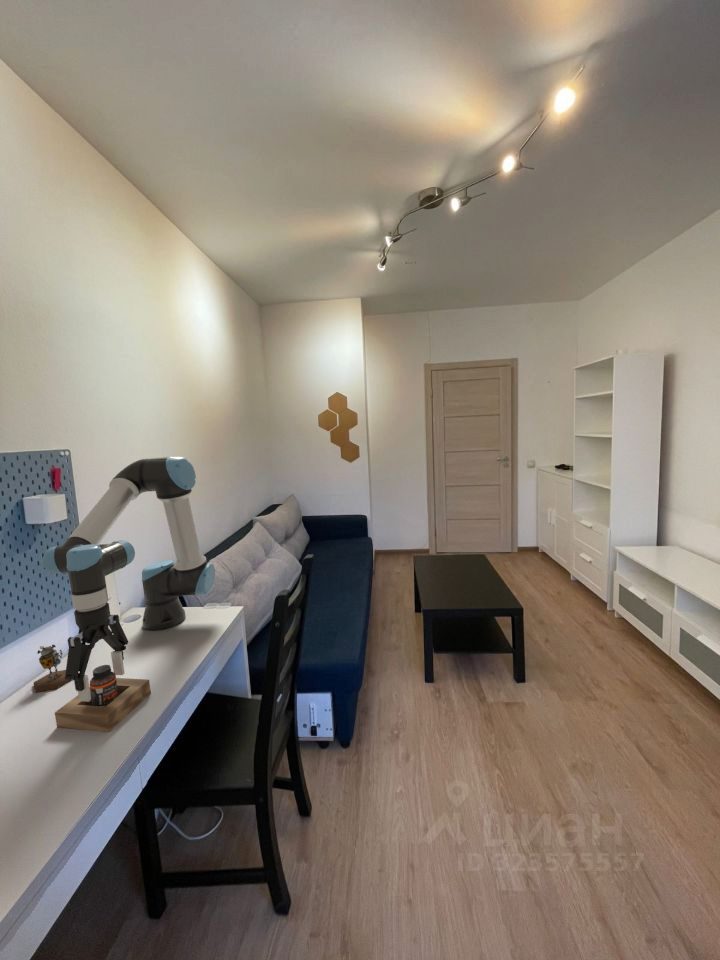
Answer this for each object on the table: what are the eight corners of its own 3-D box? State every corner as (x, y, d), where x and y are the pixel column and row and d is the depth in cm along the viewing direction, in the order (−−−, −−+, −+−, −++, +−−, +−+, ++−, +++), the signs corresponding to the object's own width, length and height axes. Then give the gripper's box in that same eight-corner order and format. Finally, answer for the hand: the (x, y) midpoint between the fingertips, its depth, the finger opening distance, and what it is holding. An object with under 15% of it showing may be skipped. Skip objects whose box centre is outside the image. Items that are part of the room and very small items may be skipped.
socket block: (104, 690, 118) (102, 677, 117) (150, 693, 115) (149, 679, 114) (56, 727, 103) (54, 712, 102) (108, 731, 100) (106, 716, 100)
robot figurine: (82, 670, 129) (76, 633, 128) (68, 687, 120) (62, 648, 119) (42, 676, 127) (36, 639, 126) (24, 694, 118) (18, 655, 117)
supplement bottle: (107, 717, 105) (101, 676, 104) (87, 715, 107) (81, 674, 105) (124, 702, 111) (119, 663, 110) (106, 700, 112) (100, 661, 111)
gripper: (113, 588, 118) (123, 661, 120) (36, 626, 95) (50, 715, 98) (136, 588, 116) (146, 662, 119) (64, 627, 94) (77, 717, 96)
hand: (103, 686), depth 108 cm, fingers open, 10 cm apart
